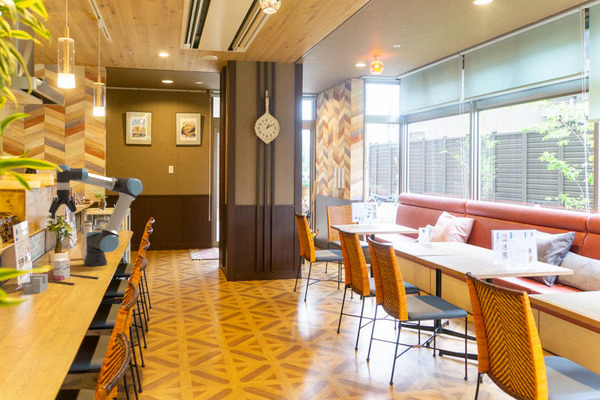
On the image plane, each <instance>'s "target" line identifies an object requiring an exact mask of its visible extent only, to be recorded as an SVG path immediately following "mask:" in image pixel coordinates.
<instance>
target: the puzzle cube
mask: <svg viewBox="0 0 600 400" xmlns="http://www.w3.org/2000/svg"><path fill="white" fill-rule="evenodd" d="M47 281H48V274H40V273H39V274H30V275H29V281H24V282H22V283H21V288H22V289H24V290H23V292H24V294H41V293H42V292H44V291H46V290H47V289H48V287H49V285H48V283H49V282H47ZM22 289H21V290H22Z"/></svg>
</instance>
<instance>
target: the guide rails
mask: <svg viewBox="0 0 600 400" xmlns="http://www.w3.org/2000/svg"><path fill="white" fill-rule="evenodd" d="M70 277H76V278H84V279H93V280H100V279H99V278H100V276H91V275H83V274H75V273H70ZM47 282H48V283H53V284H62V285H69V286H70V285H71V286H74V285H75V283H74V282H69V281H63V280H54V279H50V280H48V281H47Z"/></svg>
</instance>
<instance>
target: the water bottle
mask: <svg viewBox="0 0 600 400" xmlns="http://www.w3.org/2000/svg"><path fill="white" fill-rule="evenodd" d="M93 225H94V224H93V223H92V220H83V224H80V236H81V244H80V253H81V259H82V260H83V261H85V257H86V236H87V233H88V232H93V229H92V228H93V227H92V226H93Z"/></svg>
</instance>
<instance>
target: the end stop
mask: <svg viewBox="0 0 600 400" xmlns="http://www.w3.org/2000/svg"><path fill="white" fill-rule="evenodd" d="M52 268H53V269H52V270H50V271H48V272H43V273H40V272H39V274H48V280H54V267H52Z"/></svg>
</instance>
